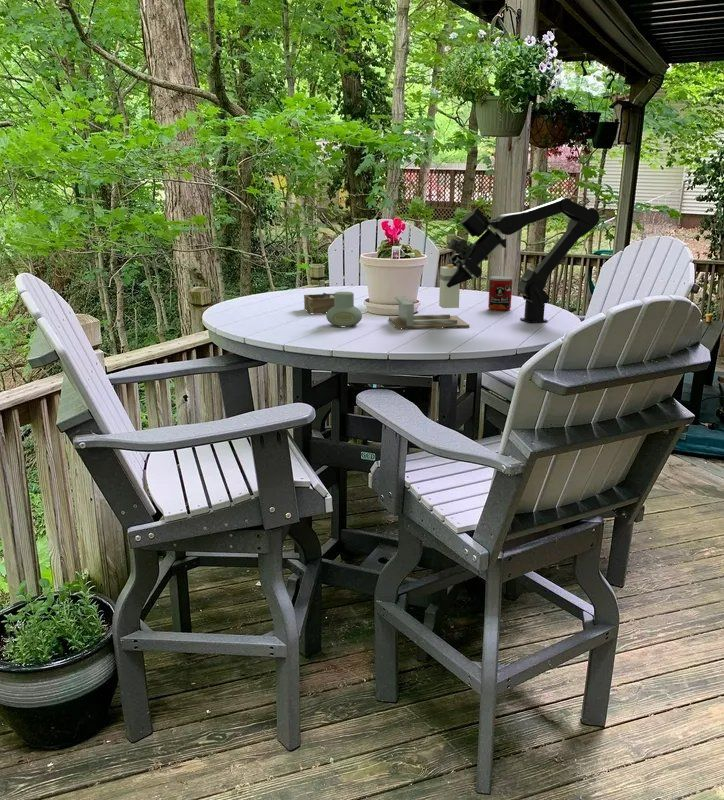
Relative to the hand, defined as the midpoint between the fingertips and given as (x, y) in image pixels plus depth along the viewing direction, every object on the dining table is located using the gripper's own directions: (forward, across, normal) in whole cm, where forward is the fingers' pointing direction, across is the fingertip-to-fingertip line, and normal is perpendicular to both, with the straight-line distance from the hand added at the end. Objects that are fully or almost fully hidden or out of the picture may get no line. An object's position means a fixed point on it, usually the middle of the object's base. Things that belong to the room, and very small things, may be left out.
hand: (445, 285), depth 211 cm
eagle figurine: (+33, -27, -16) cm, 46 cm away
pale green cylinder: (+4, 0, +6) cm, 7 cm away
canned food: (-9, -23, +26) cm, 36 cm away
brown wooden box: (+33, -27, -16) cm, 46 cm away
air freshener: (+30, 0, -14) cm, 33 cm away
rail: (+17, 0, -1) cm, 17 cm away
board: (+12, 0, +5) cm, 13 cm away
